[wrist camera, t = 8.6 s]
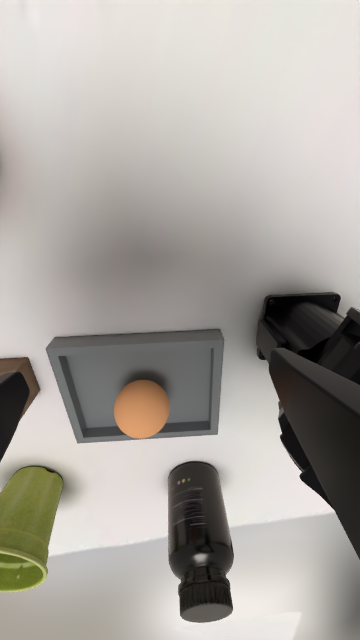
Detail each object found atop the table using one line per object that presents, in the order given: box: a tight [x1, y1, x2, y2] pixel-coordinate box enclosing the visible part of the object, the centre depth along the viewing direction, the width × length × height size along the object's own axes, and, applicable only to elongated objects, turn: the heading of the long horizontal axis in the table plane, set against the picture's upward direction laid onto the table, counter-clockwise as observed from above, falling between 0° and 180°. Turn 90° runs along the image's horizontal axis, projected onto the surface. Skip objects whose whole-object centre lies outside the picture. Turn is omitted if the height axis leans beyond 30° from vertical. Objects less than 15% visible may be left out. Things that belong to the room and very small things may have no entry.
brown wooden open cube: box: [0, 358, 40, 419], centre depth 21 cm, size 4×4×4 cm
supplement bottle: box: [168, 462, 234, 623], centre depth 26 cm, size 7×7×12 cm
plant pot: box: [0, 467, 63, 592], centre depth 27 cm, size 9×9×9 cm
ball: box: [114, 380, 170, 439], centre depth 22 cm, size 5×5×5 cm
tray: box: [46, 330, 224, 443], centre depth 23 cm, size 15×12×2 cm
